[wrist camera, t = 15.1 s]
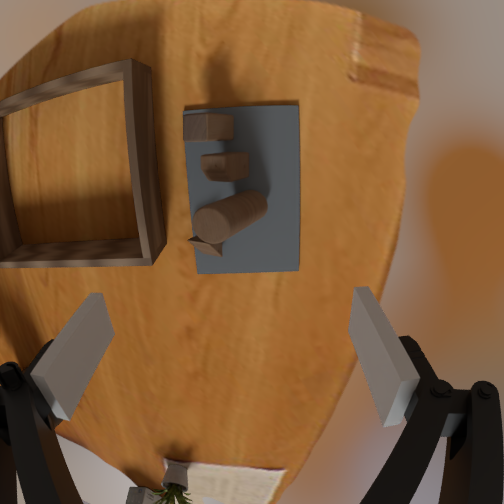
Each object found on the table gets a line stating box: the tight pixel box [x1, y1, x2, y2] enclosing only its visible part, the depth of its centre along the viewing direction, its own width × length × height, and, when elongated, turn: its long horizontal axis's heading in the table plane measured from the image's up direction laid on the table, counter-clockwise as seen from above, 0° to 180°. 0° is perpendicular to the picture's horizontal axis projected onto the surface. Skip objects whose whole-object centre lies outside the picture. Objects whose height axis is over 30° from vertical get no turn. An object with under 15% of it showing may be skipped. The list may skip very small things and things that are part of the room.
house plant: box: [150, 465, 193, 504], centre depth 61 cm, size 14×14×16 cm
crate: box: [0, 58, 167, 268], centre depth 35 cm, size 28×24×7 cm
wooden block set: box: [183, 112, 268, 257], centre depth 35 cm, size 18×9×10 cm, turn 0°
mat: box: [183, 105, 300, 274], centre depth 40 cm, size 14×22×1 cm, turn 2°
